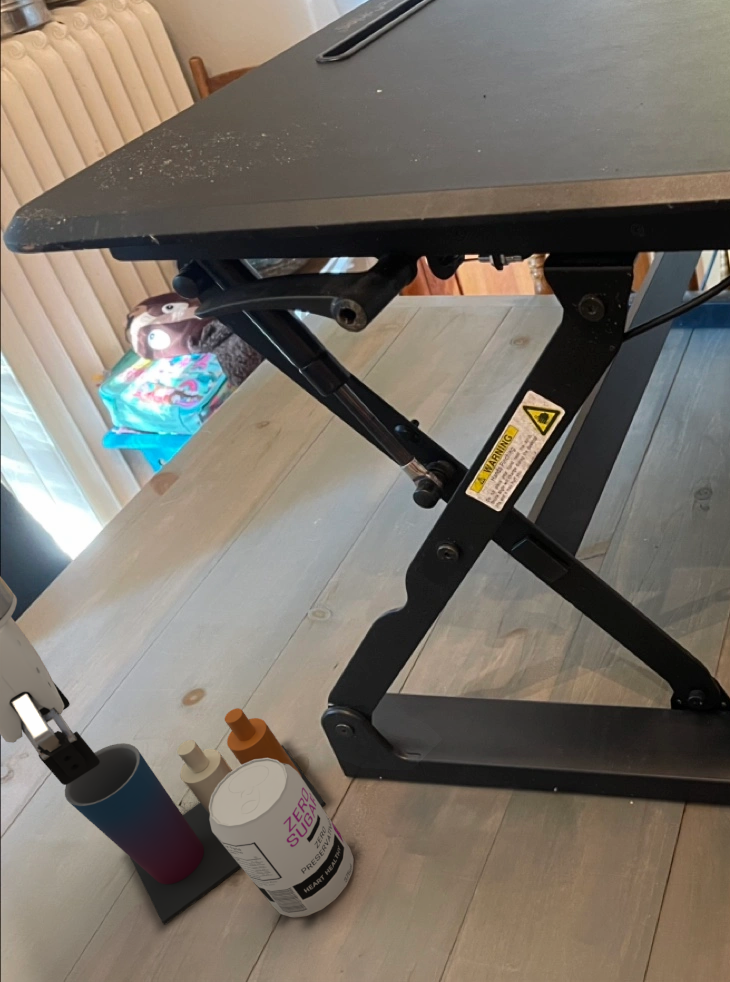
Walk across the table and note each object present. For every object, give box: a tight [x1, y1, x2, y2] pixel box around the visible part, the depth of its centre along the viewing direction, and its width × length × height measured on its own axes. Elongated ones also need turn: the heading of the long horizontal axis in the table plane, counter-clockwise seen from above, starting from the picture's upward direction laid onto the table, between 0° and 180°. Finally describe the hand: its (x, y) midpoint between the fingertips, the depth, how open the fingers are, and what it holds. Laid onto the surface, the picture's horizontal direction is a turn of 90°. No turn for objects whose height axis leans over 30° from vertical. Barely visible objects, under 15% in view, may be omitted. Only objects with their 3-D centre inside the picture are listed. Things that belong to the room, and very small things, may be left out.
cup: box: [64, 742, 204, 884], centre depth 103 cm, size 7×7×15 cm
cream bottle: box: [176, 739, 234, 814], centre depth 107 cm, size 4×4×12 cm
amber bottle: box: [224, 707, 302, 778], centre depth 110 cm, size 4×4×12 cm
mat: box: [129, 744, 327, 925], centre depth 110 cm, size 18×11×1 cm, turn 132°
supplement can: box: [209, 758, 355, 918], centre depth 99 cm, size 8×8×15 cm
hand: (67, 742), depth 96 cm, fingers open, 9 cm apart
